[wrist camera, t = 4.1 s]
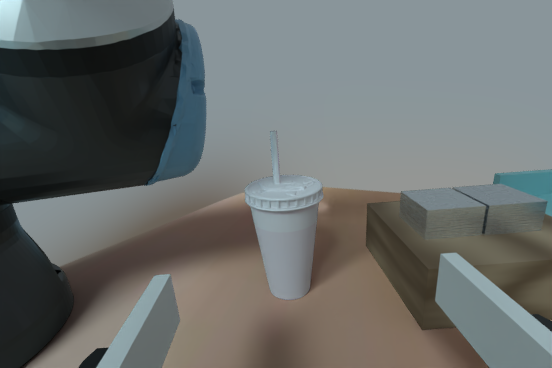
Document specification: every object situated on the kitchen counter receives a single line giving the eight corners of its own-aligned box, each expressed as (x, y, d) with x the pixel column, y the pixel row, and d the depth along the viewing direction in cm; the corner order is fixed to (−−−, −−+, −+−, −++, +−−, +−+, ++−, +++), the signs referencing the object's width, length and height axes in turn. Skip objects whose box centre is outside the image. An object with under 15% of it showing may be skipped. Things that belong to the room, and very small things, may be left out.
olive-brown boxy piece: (422, 329, 20) (428, 269, 19) (366, 245, 32) (367, 203, 30) (616, 314, 20) (637, 252, 19) (490, 235, 32) (497, 193, 30)
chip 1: (424, 239, 22) (427, 210, 22) (399, 216, 27) (400, 191, 26) (481, 235, 22) (486, 205, 22) (446, 212, 27) (449, 187, 26)
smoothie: (276, 260, 30) (265, 126, 26) (334, 274, 27) (333, 125, 23) (240, 298, 25) (220, 137, 21) (309, 321, 22) (301, 138, 18)
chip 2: (484, 235, 22) (489, 205, 22) (449, 212, 27) (452, 187, 26) (541, 230, 22) (547, 201, 22) (496, 209, 27) (501, 183, 26)
